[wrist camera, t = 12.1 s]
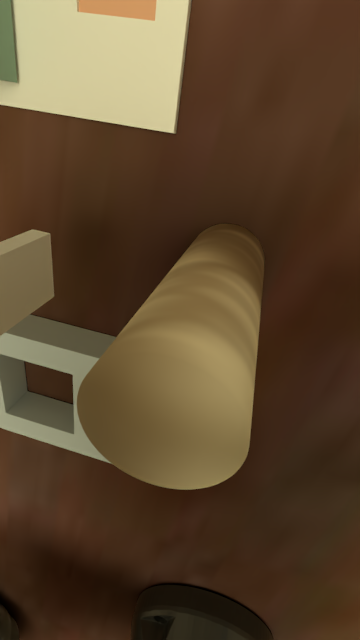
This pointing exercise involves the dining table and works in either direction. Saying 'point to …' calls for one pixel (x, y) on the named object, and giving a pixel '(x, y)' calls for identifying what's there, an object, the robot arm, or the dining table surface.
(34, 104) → the mat
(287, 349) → the dining table surface
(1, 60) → the cover
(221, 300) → the peg
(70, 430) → the grey double window frame
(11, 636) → the bundt pan
